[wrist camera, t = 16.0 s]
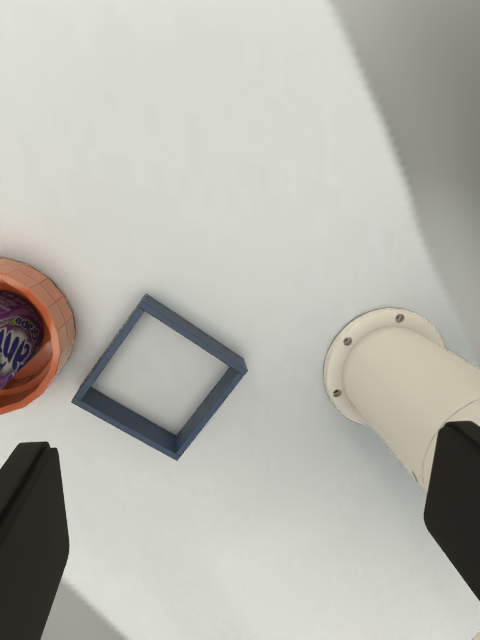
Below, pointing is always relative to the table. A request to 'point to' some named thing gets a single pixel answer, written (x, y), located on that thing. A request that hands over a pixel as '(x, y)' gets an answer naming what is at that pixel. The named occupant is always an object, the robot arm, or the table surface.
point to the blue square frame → (141, 426)
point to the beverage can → (17, 335)
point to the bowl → (55, 333)
